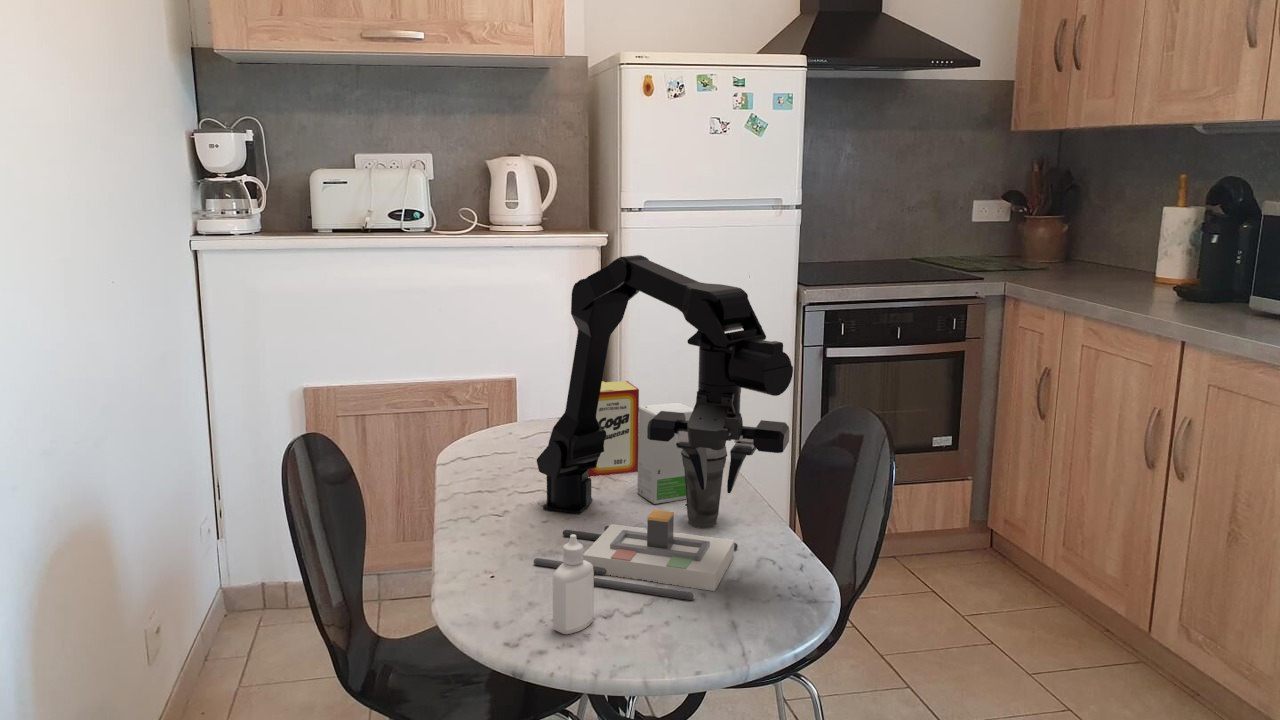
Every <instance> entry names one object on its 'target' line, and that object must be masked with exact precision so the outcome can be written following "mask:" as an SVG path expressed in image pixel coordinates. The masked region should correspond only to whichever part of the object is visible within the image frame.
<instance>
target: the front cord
mask: <svg viewBox="0 0 1280 720" xmlns="http://www.w3.org/2000/svg"><path fill="white" fill-rule="evenodd" d="M562 563H564V561H562V560H561V561H560V560H555V559H554V560H553V559H547V558H541V557H535V558H534V559H533V564H534V565H535V566H541V567H546V568H547V567H548V568H555V569H557V568H558V567H559V566H560V565H561V564H562ZM593 570H594V575H595V574H596V575H602V576H606V575H605V574H606V569H605V568H601V567H594V566H593ZM594 587H601V588H602V587H603V588H609V589H614V590H615V589H616V590H622V591H623V590H624V591H629V592H634V593H635V592H636V593H640V594H641V593H642V594H649V595H656V596H661V597H668V598H673V599H675V598H676V599H681V600H688V601H691V600H694V598H695V594H694V593H693V592H691V591H685V590H680V589H679V590H677V589H671V588H666V587H657V586H651V585H644V584H638V583H631V582H625V581H617V580H610V579H605V578H598V577H594Z"/></svg>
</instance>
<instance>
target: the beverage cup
mask: <svg viewBox="0 0 1280 720" xmlns="http://www.w3.org/2000/svg"><path fill="white" fill-rule="evenodd" d="M706 451H707V482H706V489H705V490H701V487H700V484H699V481H698V478H697V475H696V472H695V468H694V466H693V464H692V461H691V459H690V457H689V455H688V454H687V453H686V452H685V451H684V450H683V449H682V451H681V455H682V461H683V466H684V470H685V485H686V499H685V500H686V513H687V518H688V522H687V524H689V525H688V526H691V527H692V528H693V527H694V528H698V529H710V528H714V527H715V526H717V523H718V521H717V520H718V516H719V510H720V502H721V493H722V485H723V477H724V476H723V475H724V470H725V469H724V468H725V466H726V461H727V457H728V452H727V446H726V444H725V447H724V448H723V449H721V450H712V449H711V448H706Z"/></svg>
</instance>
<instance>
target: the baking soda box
mask: <svg viewBox="0 0 1280 720" xmlns="http://www.w3.org/2000/svg"><path fill="white" fill-rule="evenodd" d="M639 403H640V389H639V388H638V387H637V386H635V385H634V384H632V383H631V382H629V381H628V380H622V381H618V380H617V381H607V382H605V381H604V380H602V384H601V390H600V396H599V401H598V407H597V413H596V419H597V421H598V423H599V425H600V427H601V429H603V430H605V431H606V437H605V441H604V452H602V453H601V454H600V457H599V458H598V462H597V465H596V468H591V469H588V478H591V477H590V476H593V477H600V476H599V475H602V476H609V475H610V474H612V475H619V474H628V472H630V473H638V441H639V406H640V404H639ZM610 476H611V475H610Z"/></svg>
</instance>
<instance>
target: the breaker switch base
mask: <svg viewBox="0 0 1280 720" xmlns="http://www.w3.org/2000/svg"><path fill="white" fill-rule="evenodd" d="M608 526H609V527H608V528H607V529H606V530H604V531H603V532H602V535H601V536H600V537H599V538H598V539H597V540H594V542H593V543H592V545H590V547H588V549H587V550H586V551H585V552H583V560H585V561H588V562H590V563H591V564H592V565H593V566H594V567H601V568H605V569H606V574H605V575H604V576H610V575H611V577H616V576H618V577H617V578H623V577H625V578H624V579H630V578H634V579H633V580H637V579H642V580H641V581H643V580H647V581H646V582H650V581H653V582H652V583H657V582H658V583H659V584H664V585H670V584H672V586H677V585H679V586H678V587H683V588H684V587H685V588H690V587H691V589H692V588H693V589H699V590H706V591H712V592H715V591H716V590H717V589H718V587H719V584H720V582H721V581H722V579H723V577H724V575H725V573H726V572H727V570H728V568H729V567H730V564H731V563H732V561H733V559H734V556H735V549H734V543H735V540H734V539H727V538H721V537H714V536H713V537H711V536H706V535H704V536H703V535H696V534H691V533H689V534H688V533H684V532H683V533H681V532H675V531H673V545H672V547H671V548H670V549H662V548H655V547H648V546H647V528H645V527H636V526H631V525H630V526H629V525H622V524H613V523H611V524H610V525H608ZM658 583H657V584H658Z"/></svg>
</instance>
